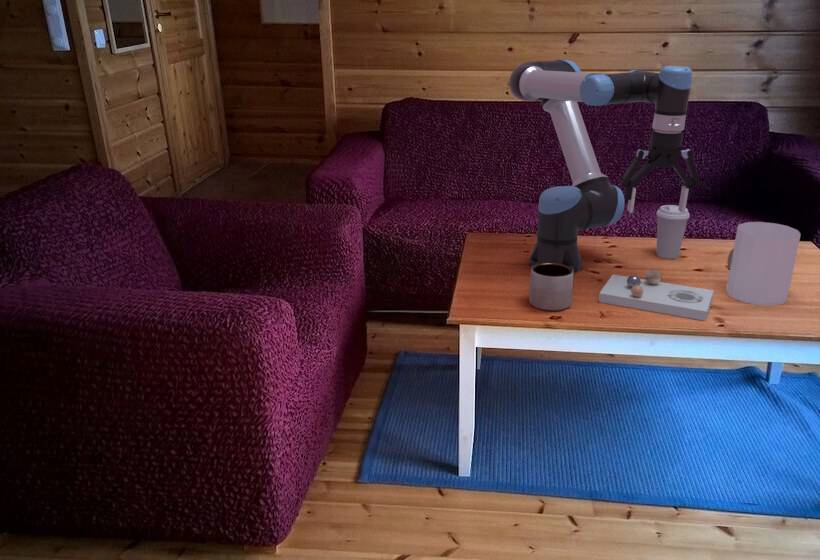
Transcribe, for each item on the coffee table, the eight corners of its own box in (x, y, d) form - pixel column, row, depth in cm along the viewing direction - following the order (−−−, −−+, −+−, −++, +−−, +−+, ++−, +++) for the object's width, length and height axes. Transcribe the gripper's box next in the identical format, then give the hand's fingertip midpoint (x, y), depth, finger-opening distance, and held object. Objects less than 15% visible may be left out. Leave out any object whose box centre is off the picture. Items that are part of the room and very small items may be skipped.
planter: (562, 315, 168) (565, 279, 164) (522, 306, 173) (524, 272, 170) (577, 300, 177) (579, 266, 173) (538, 292, 182) (540, 259, 178)
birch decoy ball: (643, 285, 179) (644, 271, 178) (646, 280, 182) (647, 266, 181) (658, 287, 177) (660, 273, 176) (661, 282, 180) (663, 268, 179)
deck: (598, 301, 175) (599, 293, 174) (611, 282, 188) (612, 274, 187) (705, 320, 164) (707, 311, 163) (712, 299, 176) (713, 290, 175)
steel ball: (624, 289, 177) (626, 276, 175) (627, 284, 180) (628, 272, 178) (638, 291, 175) (639, 278, 174) (641, 286, 178) (642, 274, 177)
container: (730, 281, 187) (741, 219, 181) (788, 290, 181) (801, 226, 174) (723, 299, 176) (734, 233, 169) (785, 309, 169) (799, 242, 162)
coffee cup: (656, 248, 214) (662, 202, 209) (687, 253, 209) (694, 207, 203) (647, 256, 207) (652, 209, 201) (678, 262, 202) (685, 214, 196)
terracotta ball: (629, 297, 171) (630, 286, 170) (631, 293, 174) (633, 282, 173) (641, 299, 170) (642, 288, 169) (643, 295, 172) (645, 284, 171)
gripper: (622, 133, 166) (612, 215, 174) (723, 133, 166) (708, 215, 174) (614, 128, 173) (604, 207, 181) (711, 127, 172) (697, 207, 181)
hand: (655, 211), depth 177 cm, fingers open, 13 cm apart
